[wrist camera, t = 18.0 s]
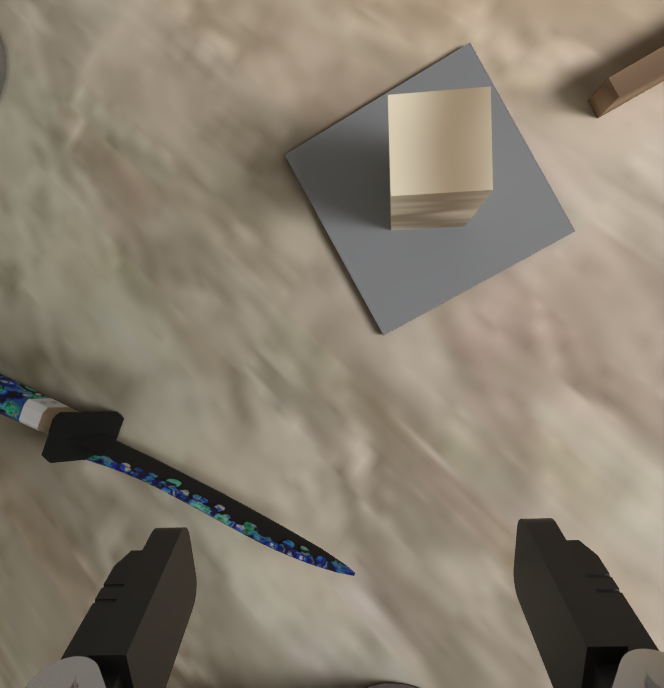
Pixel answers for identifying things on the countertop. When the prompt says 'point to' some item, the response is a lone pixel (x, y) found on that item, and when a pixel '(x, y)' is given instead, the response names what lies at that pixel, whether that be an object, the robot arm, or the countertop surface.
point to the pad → (430, 243)
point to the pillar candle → (391, 686)
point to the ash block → (439, 157)
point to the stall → (629, 83)
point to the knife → (145, 468)
